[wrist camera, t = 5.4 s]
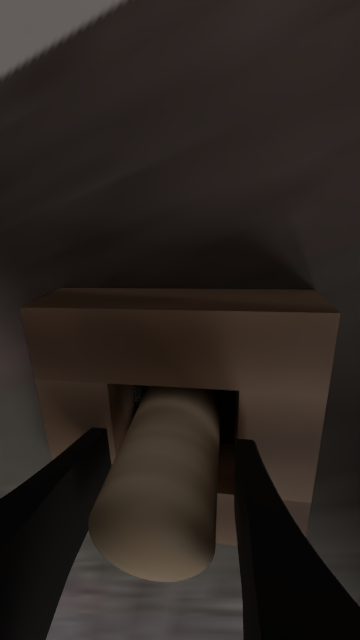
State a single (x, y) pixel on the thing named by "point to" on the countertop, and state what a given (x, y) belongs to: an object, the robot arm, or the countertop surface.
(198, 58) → the countertop surface
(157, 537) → the beech peg
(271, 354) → the walnut socket block
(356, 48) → the countertop surface
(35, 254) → the countertop surface
